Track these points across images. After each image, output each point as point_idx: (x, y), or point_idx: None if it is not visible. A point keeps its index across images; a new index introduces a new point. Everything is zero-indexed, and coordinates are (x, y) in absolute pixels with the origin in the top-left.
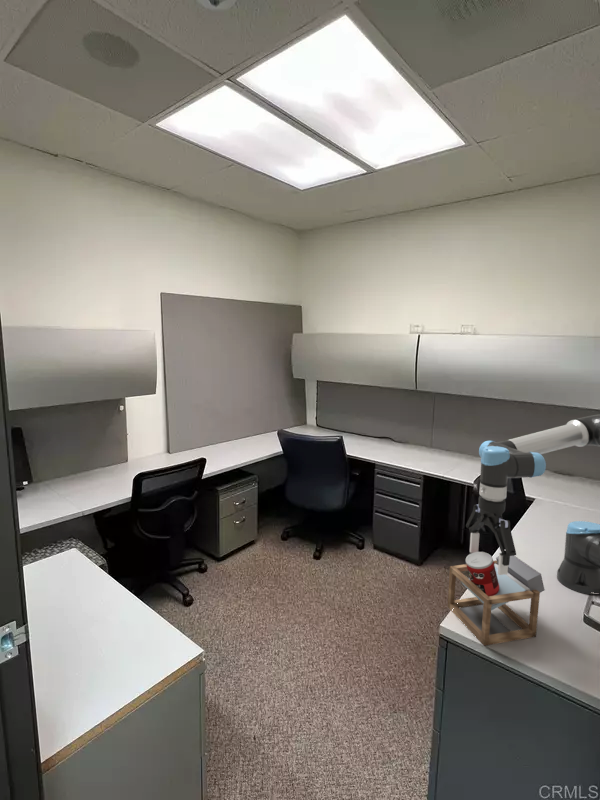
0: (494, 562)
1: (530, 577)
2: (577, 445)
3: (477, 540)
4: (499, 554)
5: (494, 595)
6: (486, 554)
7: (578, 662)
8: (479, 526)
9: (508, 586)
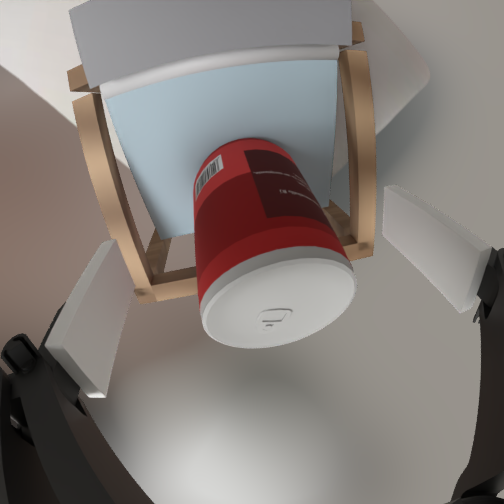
0: (81, 86)
1: (343, 19)
2: None
3: (94, 305)
4: (456, 306)
5: None
6: (265, 274)
7: (377, 30)
8: (114, 471)
9: (278, 101)
